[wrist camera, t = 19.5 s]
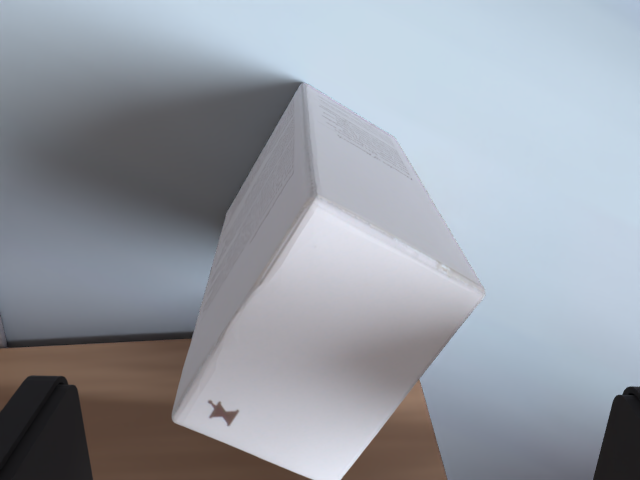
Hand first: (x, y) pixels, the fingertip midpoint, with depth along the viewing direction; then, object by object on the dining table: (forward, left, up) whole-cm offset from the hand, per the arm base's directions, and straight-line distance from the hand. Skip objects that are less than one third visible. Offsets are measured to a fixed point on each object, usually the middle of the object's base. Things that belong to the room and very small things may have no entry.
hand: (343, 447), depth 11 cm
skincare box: (0, 0, -14) cm, 14 cm away
